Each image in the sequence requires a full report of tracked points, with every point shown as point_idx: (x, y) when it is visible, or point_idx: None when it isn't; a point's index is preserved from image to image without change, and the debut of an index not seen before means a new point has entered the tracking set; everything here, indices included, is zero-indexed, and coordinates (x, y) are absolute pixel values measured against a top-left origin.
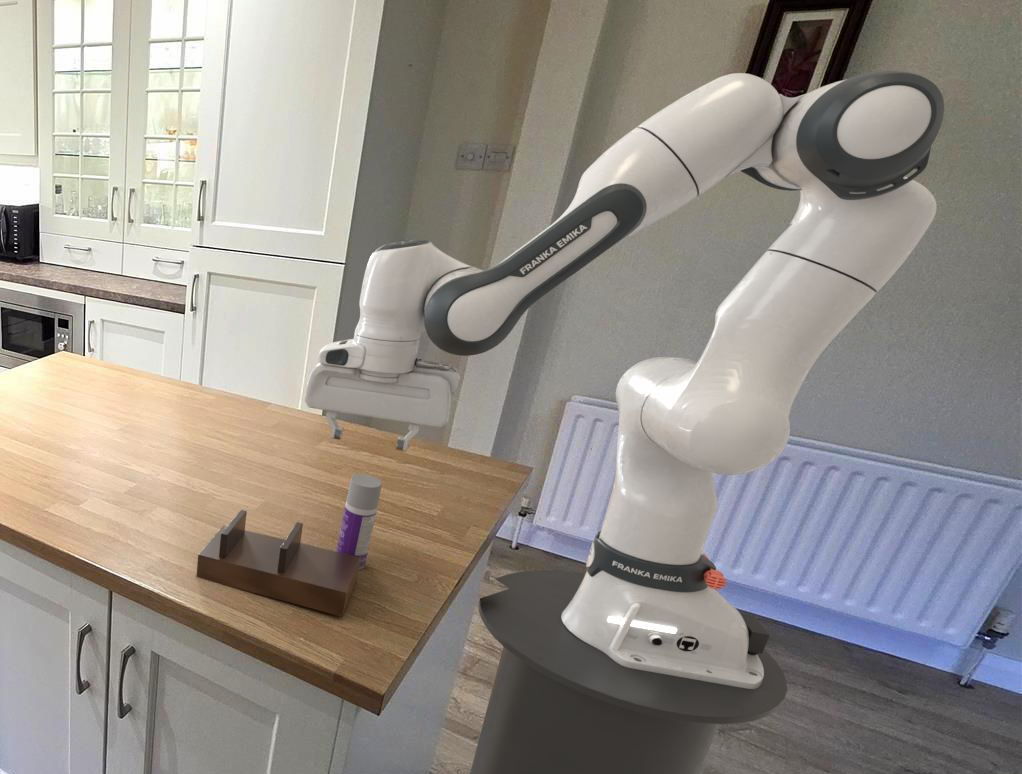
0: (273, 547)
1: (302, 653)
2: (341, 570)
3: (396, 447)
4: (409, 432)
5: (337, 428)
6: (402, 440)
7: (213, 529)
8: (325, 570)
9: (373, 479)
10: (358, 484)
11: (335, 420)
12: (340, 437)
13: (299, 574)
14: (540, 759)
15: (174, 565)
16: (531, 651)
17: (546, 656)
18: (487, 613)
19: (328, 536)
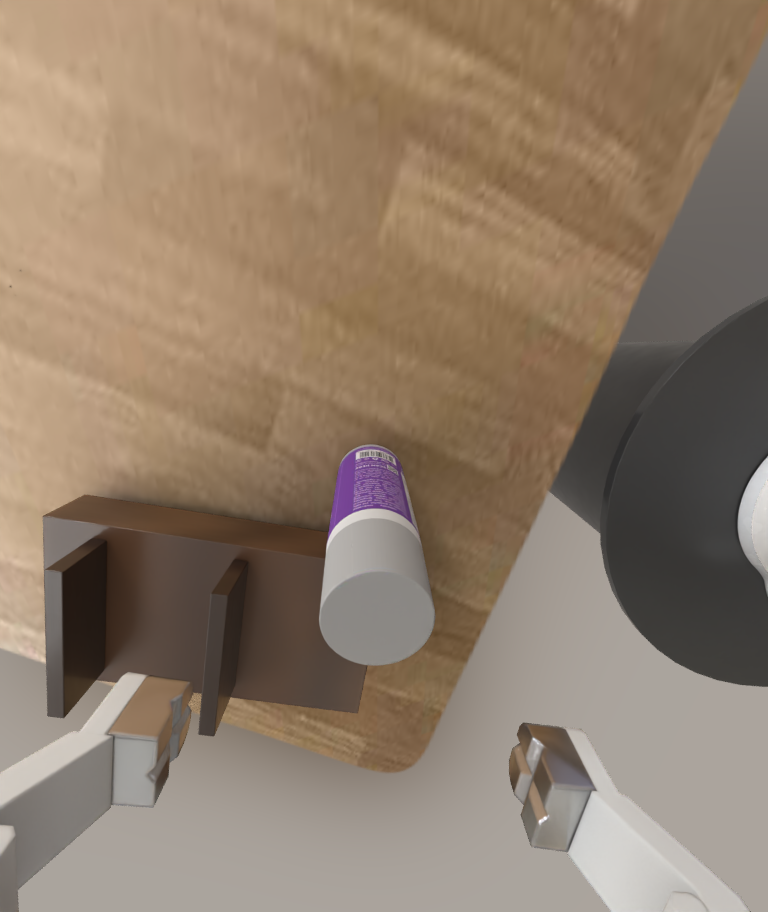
0: (191, 589)
1: (307, 748)
2: None
3: (513, 785)
4: (632, 868)
5: (117, 788)
6: (559, 848)
7: (38, 374)
8: (314, 649)
9: (404, 602)
10: (347, 658)
11: (50, 798)
12: (179, 751)
13: (265, 680)
14: (597, 531)
15: (28, 575)
16: (648, 612)
17: (666, 617)
18: (614, 520)
19: (320, 309)
